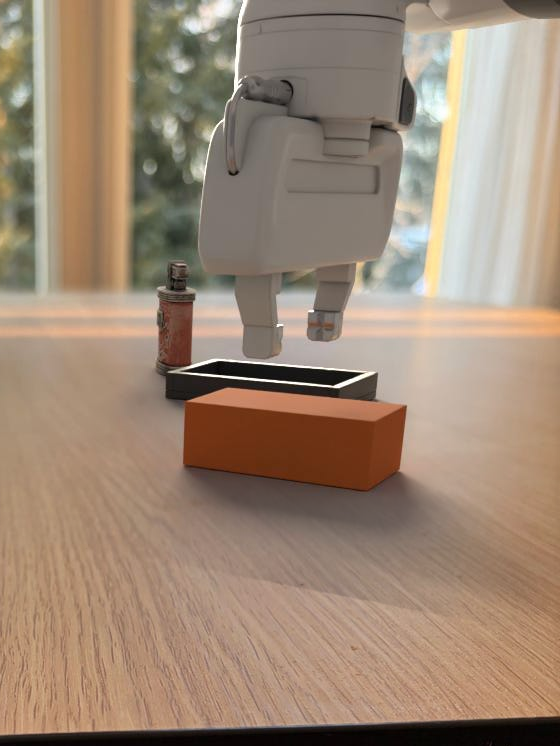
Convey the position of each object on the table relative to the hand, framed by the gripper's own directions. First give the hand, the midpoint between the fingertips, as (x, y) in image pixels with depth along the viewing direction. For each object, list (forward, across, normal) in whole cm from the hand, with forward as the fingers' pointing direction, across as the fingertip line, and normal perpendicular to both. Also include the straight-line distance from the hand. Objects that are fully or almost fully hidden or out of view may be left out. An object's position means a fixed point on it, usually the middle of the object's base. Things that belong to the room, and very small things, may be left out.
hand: (294, 348), depth 63 cm
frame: (+7, +22, +11) cm, 26 cm away
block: (+7, 0, 0) cm, 7 cm away
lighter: (+7, +31, +25) cm, 41 cm away
